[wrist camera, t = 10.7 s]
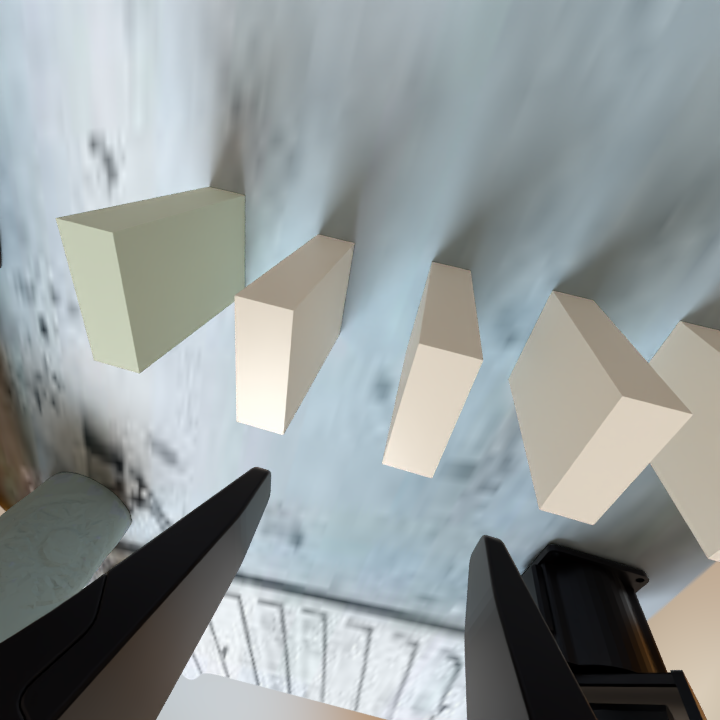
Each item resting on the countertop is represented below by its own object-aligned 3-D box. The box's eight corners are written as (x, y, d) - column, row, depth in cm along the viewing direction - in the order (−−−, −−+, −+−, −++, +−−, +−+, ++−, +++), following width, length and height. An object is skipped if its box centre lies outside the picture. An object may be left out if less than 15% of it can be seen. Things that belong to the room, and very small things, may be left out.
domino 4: (593, 300, 16) (693, 414, 9) (543, 387, 19) (593, 525, 12) (552, 290, 16) (622, 396, 10) (508, 379, 19) (539, 509, 12)
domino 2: (354, 242, 17) (293, 310, 10) (339, 334, 20) (283, 434, 13) (318, 234, 17) (234, 295, 11) (308, 326, 20) (236, 421, 13)
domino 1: (245, 195, 17) (112, 232, 10) (244, 293, 20) (139, 373, 13) (209, 186, 17) (55, 218, 11) (213, 285, 20) (94, 360, 13)
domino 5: (723, 331, 16) (923, 474, 9) (652, 417, 18) (766, 575, 12) (679, 320, 16) (844, 453, 9) (616, 407, 19) (707, 558, 12)
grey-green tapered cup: (128, 484, 32) (-18, 641, 22) (148, 547, 38) (38, 696, 28) (28, 455, 33) (-155, 591, 23) (61, 520, 39) (-75, 654, 29)
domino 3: (470, 270, 17) (483, 360, 10) (438, 360, 19) (431, 478, 13) (431, 261, 17) (418, 343, 10) (406, 352, 20) (381, 463, 13)
